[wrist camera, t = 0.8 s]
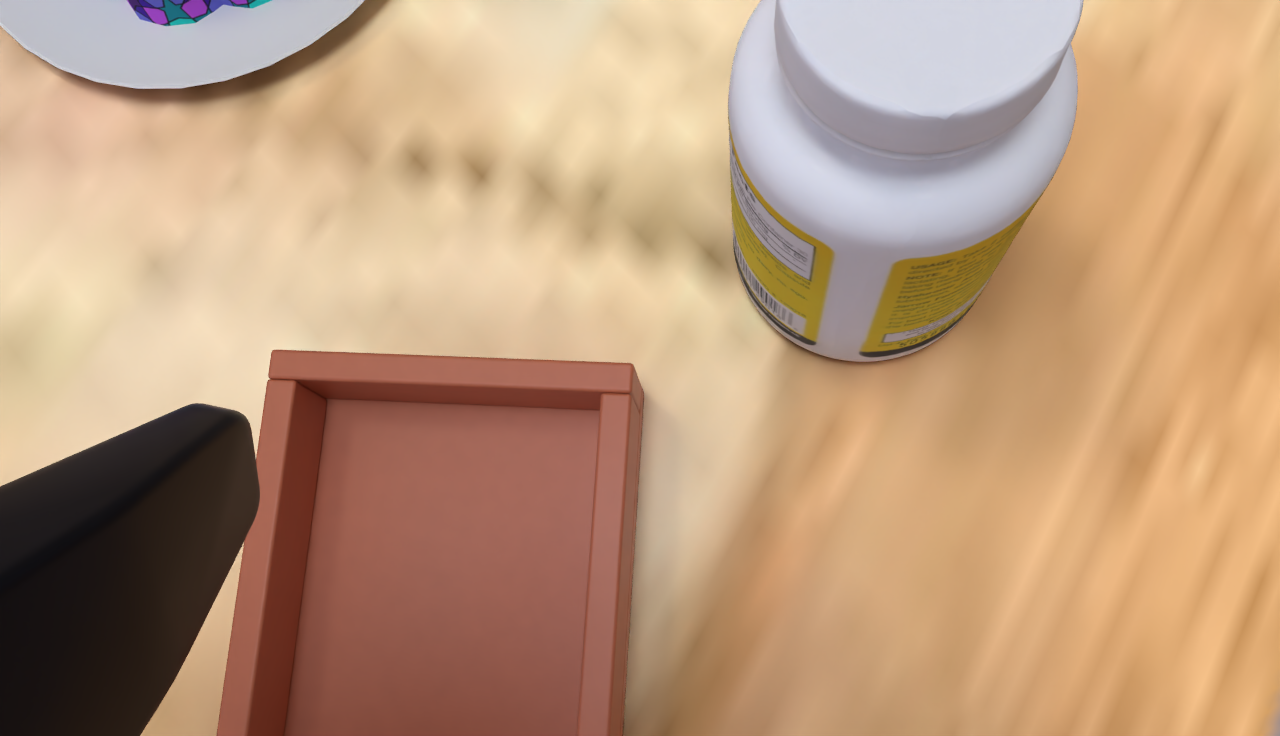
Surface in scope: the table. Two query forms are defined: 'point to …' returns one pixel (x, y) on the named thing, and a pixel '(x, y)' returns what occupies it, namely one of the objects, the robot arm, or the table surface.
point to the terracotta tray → (438, 549)
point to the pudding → (168, 36)
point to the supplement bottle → (890, 159)
